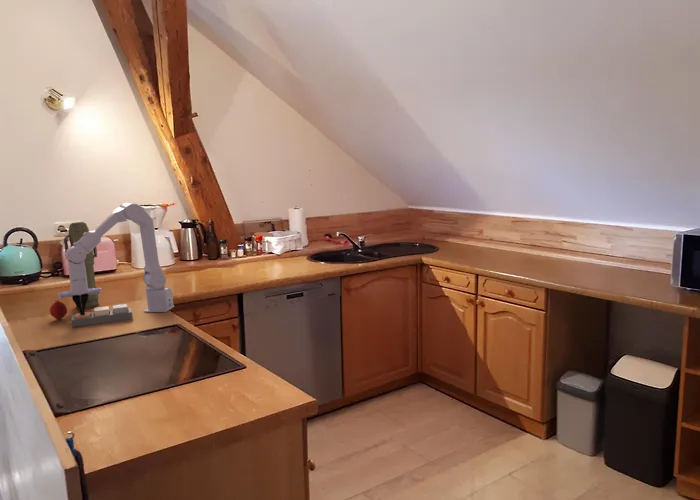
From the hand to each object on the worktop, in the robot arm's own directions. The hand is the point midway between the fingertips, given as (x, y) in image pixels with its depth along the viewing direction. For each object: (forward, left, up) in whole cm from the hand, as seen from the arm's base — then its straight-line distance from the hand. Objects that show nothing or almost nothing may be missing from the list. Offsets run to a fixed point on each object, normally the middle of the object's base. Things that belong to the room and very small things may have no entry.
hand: (82, 314), depth 213 cm
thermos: (+14, -25, -4) cm, 29 cm away
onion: (+13, -5, -4) cm, 15 cm away
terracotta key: (0, 0, -3) cm, 3 cm away
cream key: (-6, -3, -1) cm, 7 cm away
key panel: (-6, -3, -4) cm, 8 cm away
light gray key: (-11, -7, -1) cm, 13 cm away
